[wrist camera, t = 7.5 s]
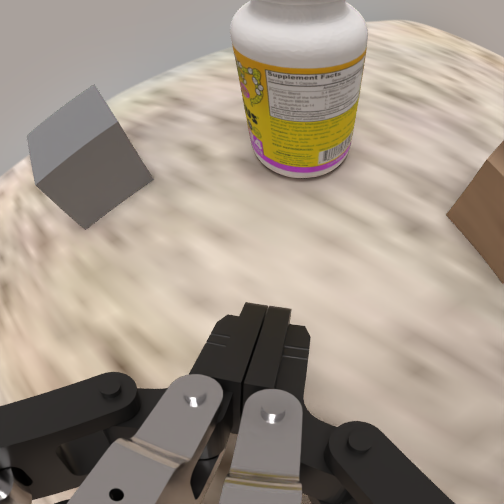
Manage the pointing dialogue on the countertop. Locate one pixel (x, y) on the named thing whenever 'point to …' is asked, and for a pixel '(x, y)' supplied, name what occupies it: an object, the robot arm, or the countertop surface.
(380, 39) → the countertop surface
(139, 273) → the countertop surface
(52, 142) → the charcoal block
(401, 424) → the countertop surface
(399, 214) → the countertop surface
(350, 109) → the supplement bottle
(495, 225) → the walnut block
